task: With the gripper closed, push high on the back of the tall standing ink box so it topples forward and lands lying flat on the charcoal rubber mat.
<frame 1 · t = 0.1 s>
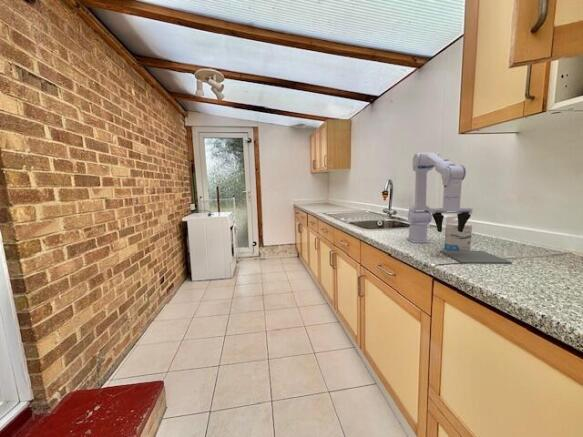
hand: (449, 231, 100), 10 cm above the counter, tool pointing down, fingers open, 7 cm apart
ink box: (456, 250, 110), on the counter
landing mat: (472, 257, 99), on the counter
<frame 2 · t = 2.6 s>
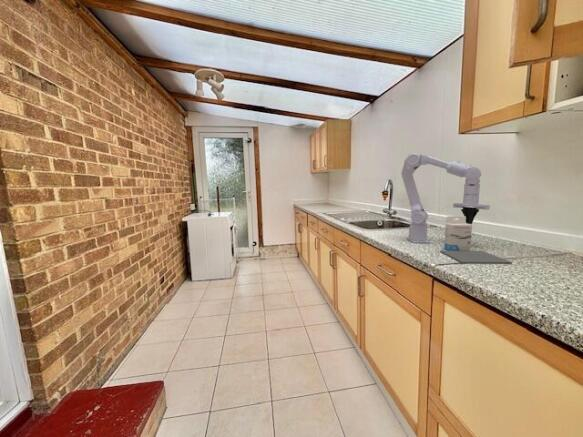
hand: (469, 224, 115), 10 cm above the counter, tool pointing down, fingers closed
nothing on the counter moved.
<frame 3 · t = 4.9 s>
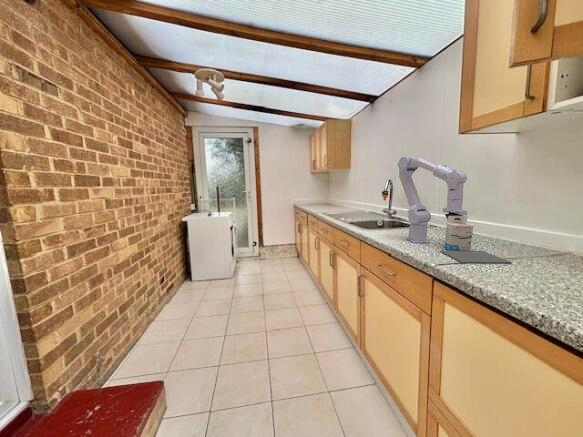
hand: (453, 229, 113), 8 cm above the counter, tool pointing down, fingers closed
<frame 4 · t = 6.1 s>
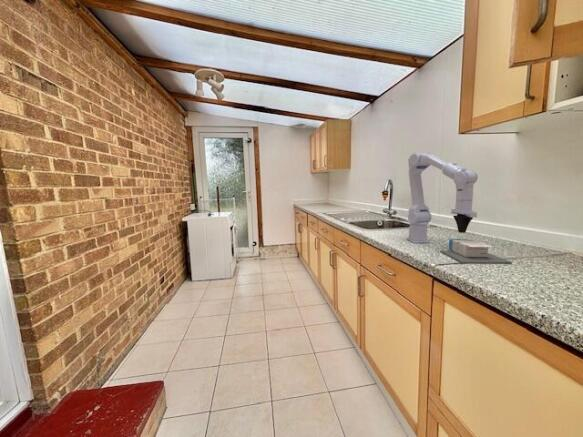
hand: (461, 232, 106), 8 cm above the counter, tool pointing down, fingers closed
ink box: (458, 244, 108), point 3 cm above the counter, touching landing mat
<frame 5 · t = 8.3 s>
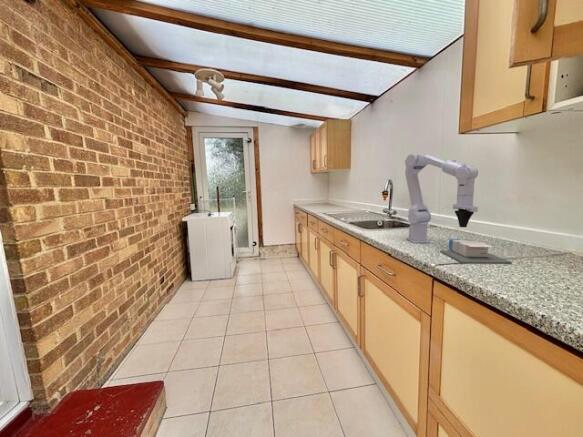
hand: (462, 227, 108), 10 cm above the counter, tool pointing down, fingers closed
nothing on the counter moved.
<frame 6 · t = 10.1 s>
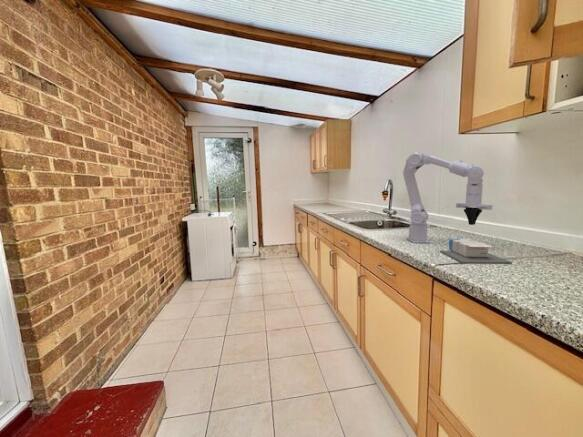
hand: (471, 224, 114), 10 cm above the counter, tool pointing down, fingers closed
nothing on the counter moved.
at the end: ink box tilted 90°; ink box touching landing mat; ink box inside the target area (9.3 cm from its centre), point 3.0 cm above the counter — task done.
